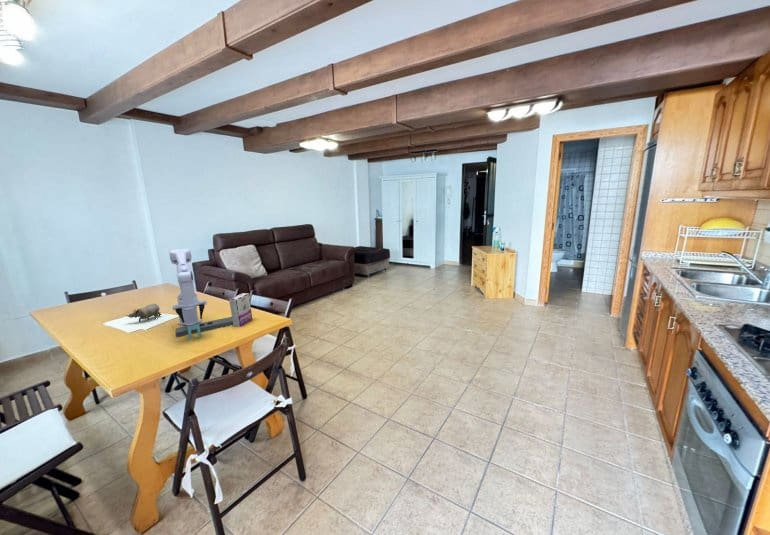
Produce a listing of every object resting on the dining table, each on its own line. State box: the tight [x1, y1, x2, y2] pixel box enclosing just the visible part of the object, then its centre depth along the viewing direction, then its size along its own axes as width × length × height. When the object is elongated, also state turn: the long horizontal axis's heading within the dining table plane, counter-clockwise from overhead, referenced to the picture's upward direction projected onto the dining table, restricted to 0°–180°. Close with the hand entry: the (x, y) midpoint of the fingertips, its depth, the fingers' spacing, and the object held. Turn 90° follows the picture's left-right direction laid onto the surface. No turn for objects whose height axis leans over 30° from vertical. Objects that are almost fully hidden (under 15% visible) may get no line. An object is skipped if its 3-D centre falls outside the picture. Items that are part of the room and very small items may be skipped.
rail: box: [174, 316, 233, 338], centre depth 166 cm, size 28×8×2 cm, turn 124°
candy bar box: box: [228, 292, 253, 328], centre depth 171 cm, size 11×5×16 cm, turn 168°
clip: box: [186, 323, 202, 341], centre depth 154 cm, size 5×2×6 cm, turn 124°
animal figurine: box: [124, 303, 162, 322], centre depth 179 cm, size 8×14×15 cm
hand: (192, 320), depth 152 cm, fingers open, 7 cm apart
